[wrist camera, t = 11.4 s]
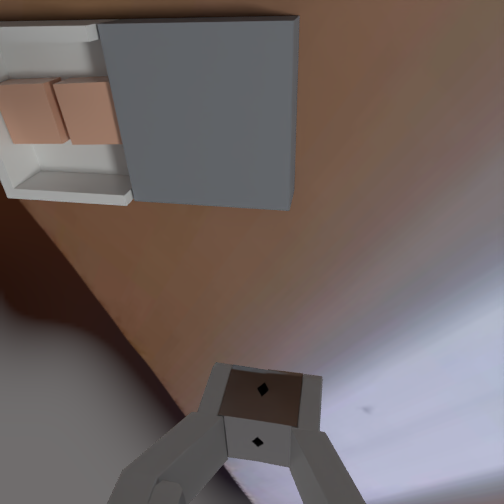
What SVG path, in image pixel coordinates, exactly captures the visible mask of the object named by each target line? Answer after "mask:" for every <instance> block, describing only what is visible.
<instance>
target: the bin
mask: <svg viewBox="0 0 504 504" xmlns="http://www.w3.org/2000/svg"><path fill="white" fill-rule="evenodd" d="M115 20H119V19H98V20H47V21H0V82H2V81H6V80H9V79H25V78H50V77H61V81H63V80H65V79H68V78H77V77H98V76H108V73H107V68H106V63H105V59H104V54H103V49H102V45H101V40H100V35H99V30H98V26H97V24H100V23H105V22H110V21H115ZM0 180H1V182H2V185H3V187H4V190H5V192H6V195H7V197H8V198H17V199H32V200H47V201H62V202H77V203H92V204H107V205H122V206H127V205H128V204H129V203H130V202H131V201H132V200H133V199H134V195H133V191H132V186H131V181H130V176H129V172H128V167H127V162H126V158H125V153H124V148H123V144H97V145H72V142H71V139H70V140H68V141H67V142H65V143H63V144H13V141H12V139H11V136H10V134H9V131H8V129H7V126H6V124H5V121H4V119H3V116H2V114H1V111H0Z"/></svg>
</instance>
